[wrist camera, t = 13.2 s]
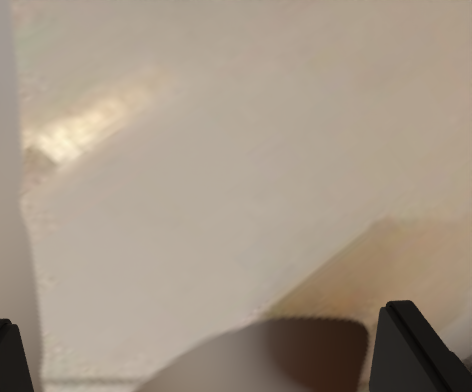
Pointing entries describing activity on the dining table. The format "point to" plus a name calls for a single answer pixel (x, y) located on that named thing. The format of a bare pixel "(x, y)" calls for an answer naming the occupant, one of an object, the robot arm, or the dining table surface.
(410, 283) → the dining table surface
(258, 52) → the dining table surface
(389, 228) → the dining table surface
